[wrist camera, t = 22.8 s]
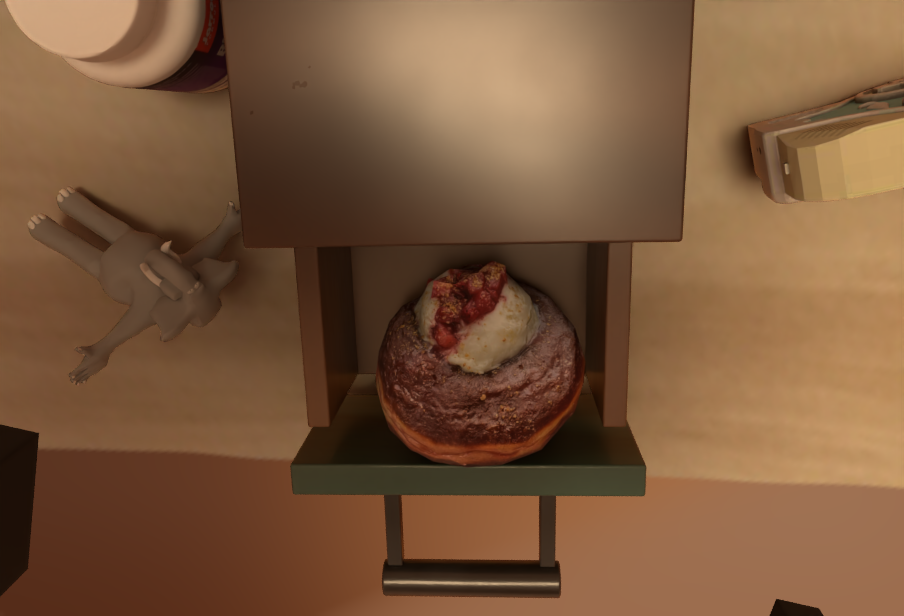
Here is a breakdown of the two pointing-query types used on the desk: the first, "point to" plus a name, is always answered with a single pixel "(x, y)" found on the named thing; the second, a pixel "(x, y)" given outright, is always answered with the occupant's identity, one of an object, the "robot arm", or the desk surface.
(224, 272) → the elephant figurine
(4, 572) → the robot arm
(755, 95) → the desk surface
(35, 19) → the pill bottle
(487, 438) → the pastry
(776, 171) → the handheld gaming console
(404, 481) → the drawer
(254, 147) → the cabinet
